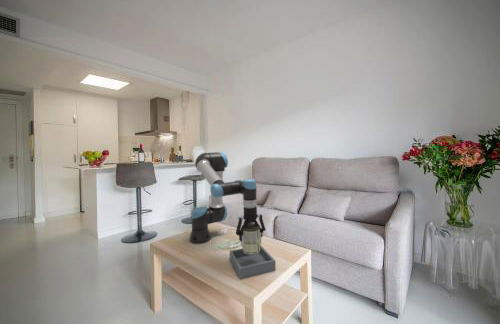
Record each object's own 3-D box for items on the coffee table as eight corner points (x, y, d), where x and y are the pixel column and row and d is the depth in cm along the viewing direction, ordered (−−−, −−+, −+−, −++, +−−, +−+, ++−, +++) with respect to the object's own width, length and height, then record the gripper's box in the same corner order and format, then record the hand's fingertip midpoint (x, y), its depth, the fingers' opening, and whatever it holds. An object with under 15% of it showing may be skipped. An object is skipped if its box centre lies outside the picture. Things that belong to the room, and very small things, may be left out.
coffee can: (240, 247, 125) (239, 224, 124) (256, 244, 128) (256, 222, 127) (245, 256, 115) (244, 230, 114) (263, 252, 118) (262, 228, 117)
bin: (229, 259, 128) (229, 250, 128) (260, 253, 135) (260, 244, 135) (240, 279, 109) (239, 268, 109) (275, 270, 116) (275, 260, 116)
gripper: (232, 210, 112) (234, 251, 114) (271, 205, 120) (271, 243, 122) (229, 207, 119) (230, 245, 121) (265, 202, 127) (266, 238, 129)
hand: (251, 244), depth 121 cm, fingers closed on coffee can, 10 cm apart
